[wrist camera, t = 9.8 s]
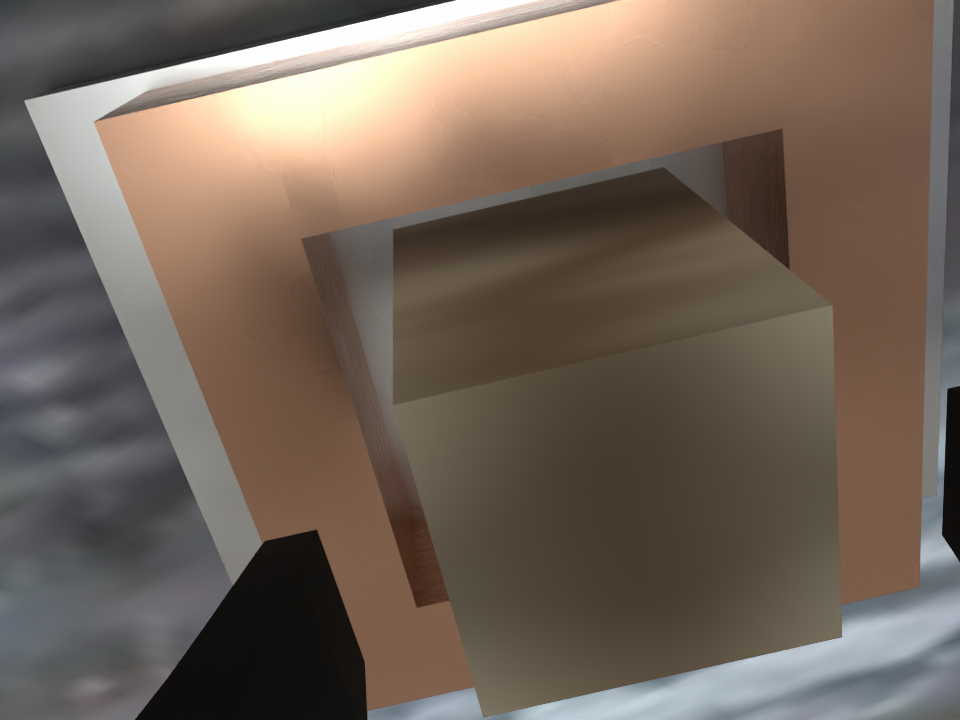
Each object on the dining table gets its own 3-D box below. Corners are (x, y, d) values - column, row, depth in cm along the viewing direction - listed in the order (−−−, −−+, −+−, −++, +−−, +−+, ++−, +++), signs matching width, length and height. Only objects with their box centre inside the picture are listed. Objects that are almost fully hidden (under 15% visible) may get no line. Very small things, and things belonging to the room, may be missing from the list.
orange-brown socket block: (920, -111, 14) (1080, -129, 10) (909, 468, 18) (1016, 575, 15) (48, 90, 14) (-56, 133, 10) (266, 613, 18) (239, 750, 15)
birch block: (663, 166, 14) (832, 305, 9) (691, 403, 16) (842, 637, 11) (393, 229, 14) (393, 405, 9) (453, 458, 16) (483, 718, 11)
